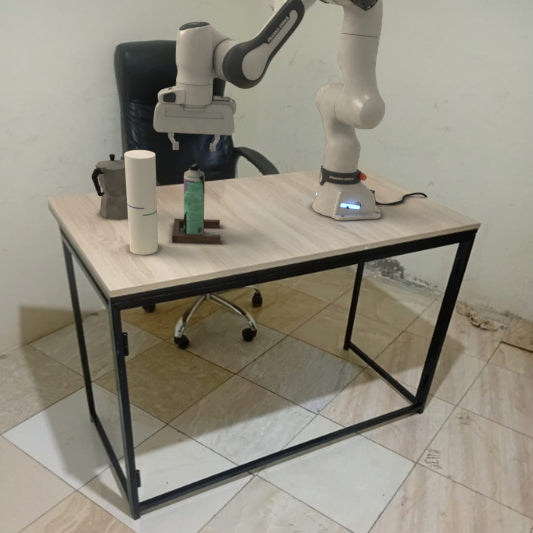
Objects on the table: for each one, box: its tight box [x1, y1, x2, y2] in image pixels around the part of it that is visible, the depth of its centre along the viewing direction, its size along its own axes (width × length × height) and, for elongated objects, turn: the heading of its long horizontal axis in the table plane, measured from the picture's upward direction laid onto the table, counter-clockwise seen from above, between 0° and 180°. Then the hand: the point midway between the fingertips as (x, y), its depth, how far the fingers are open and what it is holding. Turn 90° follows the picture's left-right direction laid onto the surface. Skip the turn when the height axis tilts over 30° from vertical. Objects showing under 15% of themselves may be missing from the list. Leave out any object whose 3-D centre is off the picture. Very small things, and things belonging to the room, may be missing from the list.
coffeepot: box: [91, 153, 128, 220], centre depth 145 cm, size 15×9×18 cm, turn 158°
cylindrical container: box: [123, 149, 159, 256], centre depth 125 cm, size 7×7×25 cm
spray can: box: [183, 163, 206, 234], centre depth 137 cm, size 6×6×20 cm
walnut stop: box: [171, 217, 222, 245], centre depth 141 cm, size 13×12×2 cm
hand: (194, 150), depth 130 cm, fingers open, 8 cm apart
